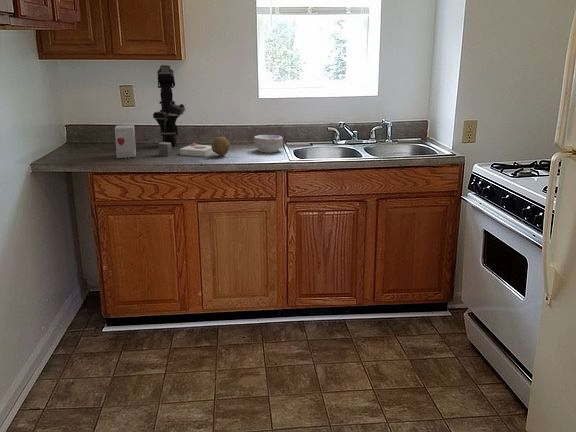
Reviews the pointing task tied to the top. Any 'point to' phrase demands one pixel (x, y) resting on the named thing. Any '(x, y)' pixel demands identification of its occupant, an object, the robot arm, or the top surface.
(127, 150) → the supplement box
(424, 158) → the top surface
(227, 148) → the natural sponge
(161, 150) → the plug
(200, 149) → the socket plate
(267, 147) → the white bowl
